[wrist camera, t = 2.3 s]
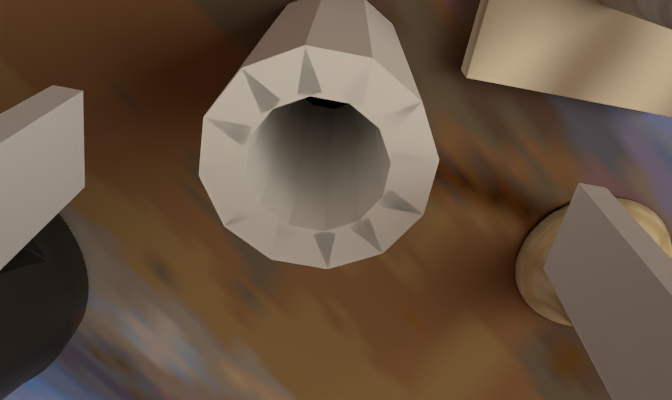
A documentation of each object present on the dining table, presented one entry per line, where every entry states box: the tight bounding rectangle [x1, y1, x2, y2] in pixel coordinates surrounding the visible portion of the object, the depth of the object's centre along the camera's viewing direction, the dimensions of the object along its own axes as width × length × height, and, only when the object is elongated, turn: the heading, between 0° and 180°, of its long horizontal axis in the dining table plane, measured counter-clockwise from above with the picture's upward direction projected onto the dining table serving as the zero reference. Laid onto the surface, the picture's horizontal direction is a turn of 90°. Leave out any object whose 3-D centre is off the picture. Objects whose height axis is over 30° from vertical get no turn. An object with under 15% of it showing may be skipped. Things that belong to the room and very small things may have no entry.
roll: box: [199, 0, 439, 269], centre depth 21 cm, size 7×7×12 cm
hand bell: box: [515, 198, 672, 327], centre depth 24 cm, size 8×8×16 cm
